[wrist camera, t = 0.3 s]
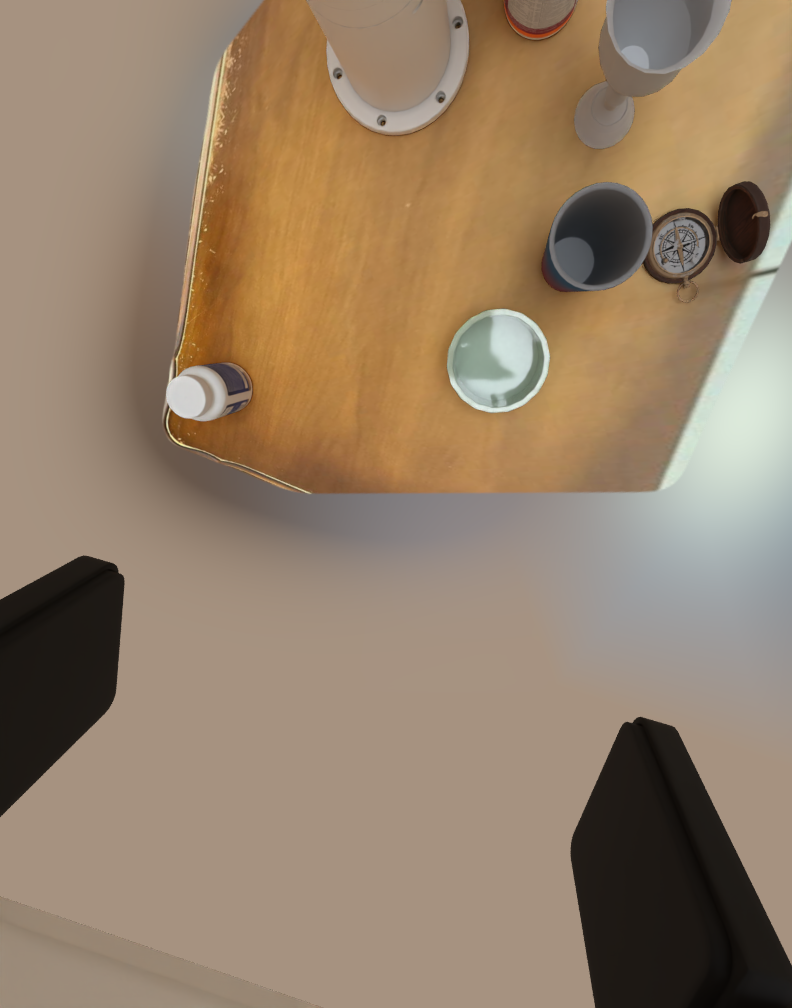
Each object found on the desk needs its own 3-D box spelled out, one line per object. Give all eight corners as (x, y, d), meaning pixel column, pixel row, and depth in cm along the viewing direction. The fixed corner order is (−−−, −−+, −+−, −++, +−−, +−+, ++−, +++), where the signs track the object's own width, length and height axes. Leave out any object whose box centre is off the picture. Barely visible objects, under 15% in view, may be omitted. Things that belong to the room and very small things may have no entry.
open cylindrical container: (464, 301, 54) (462, 297, 48) (555, 324, 54) (564, 323, 48) (440, 391, 57) (435, 398, 51) (526, 413, 57) (531, 423, 51)
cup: (535, 308, 54) (554, 299, 39) (527, 232, 52) (544, 195, 38) (609, 294, 52) (655, 280, 38) (603, 216, 50) (650, 170, 36)
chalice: (564, 72, 48) (607, -71, 31) (647, 59, 47) (740, -98, 30) (563, 168, 50) (604, 83, 33) (643, 157, 49) (728, 64, 32)
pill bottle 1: (209, 357, 60) (160, 361, 51) (256, 368, 60) (215, 374, 50) (205, 405, 62) (156, 418, 53) (250, 416, 61) (209, 431, 52)
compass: (633, 226, 50) (656, 209, 43) (726, 192, 49) (766, 169, 42) (650, 313, 52) (676, 311, 45) (741, 284, 50) (782, 277, 44)
